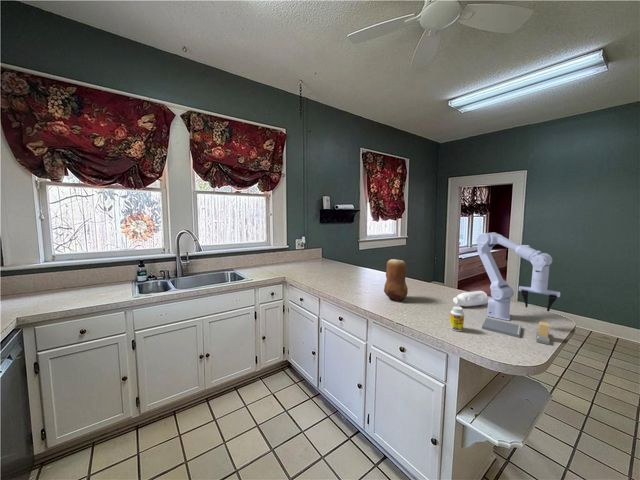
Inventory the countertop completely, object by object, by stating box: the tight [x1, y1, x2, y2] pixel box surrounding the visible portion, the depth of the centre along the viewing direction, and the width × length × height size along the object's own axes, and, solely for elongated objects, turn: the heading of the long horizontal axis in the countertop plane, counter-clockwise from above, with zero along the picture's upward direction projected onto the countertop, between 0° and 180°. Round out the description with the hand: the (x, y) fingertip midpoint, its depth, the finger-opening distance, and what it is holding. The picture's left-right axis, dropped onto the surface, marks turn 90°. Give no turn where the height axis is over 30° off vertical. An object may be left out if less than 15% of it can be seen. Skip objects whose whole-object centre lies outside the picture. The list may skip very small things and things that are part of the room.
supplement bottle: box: [449, 305, 465, 332], centre depth 121 cm, size 6×6×10 cm
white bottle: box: [452, 290, 489, 308], centre depth 151 cm, size 8×19×8 cm, turn 105°
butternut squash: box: [383, 258, 409, 301], centre depth 161 cm, size 14×13×25 cm
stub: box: [536, 321, 550, 345], centre depth 113 cm, size 4×12×6 cm, turn 140°
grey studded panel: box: [481, 317, 522, 339], centre depth 122 cm, size 14×12×1 cm
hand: (537, 308), depth 121 cm, fingers open, 7 cm apart
